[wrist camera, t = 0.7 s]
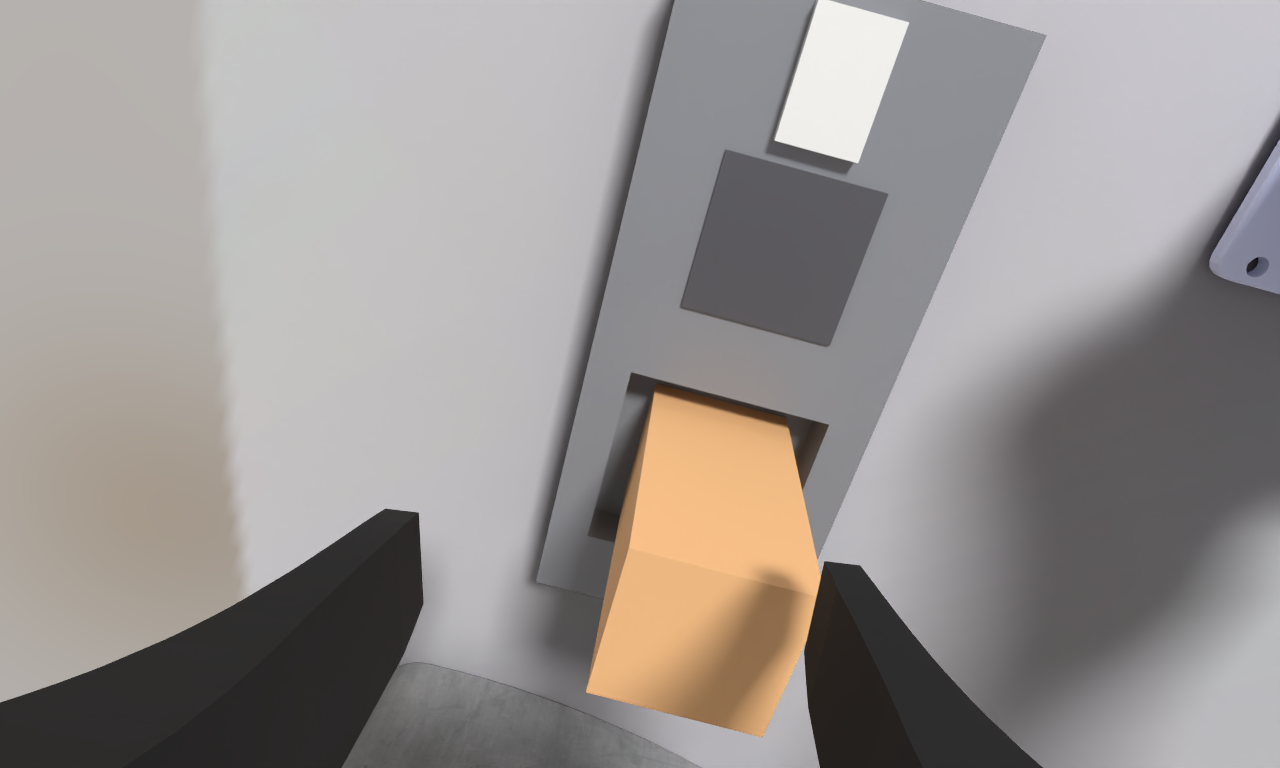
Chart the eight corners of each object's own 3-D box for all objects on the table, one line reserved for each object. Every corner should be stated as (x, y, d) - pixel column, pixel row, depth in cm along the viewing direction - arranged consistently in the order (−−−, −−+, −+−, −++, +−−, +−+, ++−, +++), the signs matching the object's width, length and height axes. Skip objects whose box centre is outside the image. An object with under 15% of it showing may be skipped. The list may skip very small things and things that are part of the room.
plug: (786, 418, 22) (825, 598, 14) (745, 526, 23) (762, 737, 16) (655, 383, 22) (629, 548, 14) (624, 494, 23) (585, 692, 16)
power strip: (1141, -272, 15) (1214, -328, 13) (774, 602, 25) (781, 654, 23) (771, -380, 15) (781, -455, 13) (548, 543, 25) (532, 590, 23)
